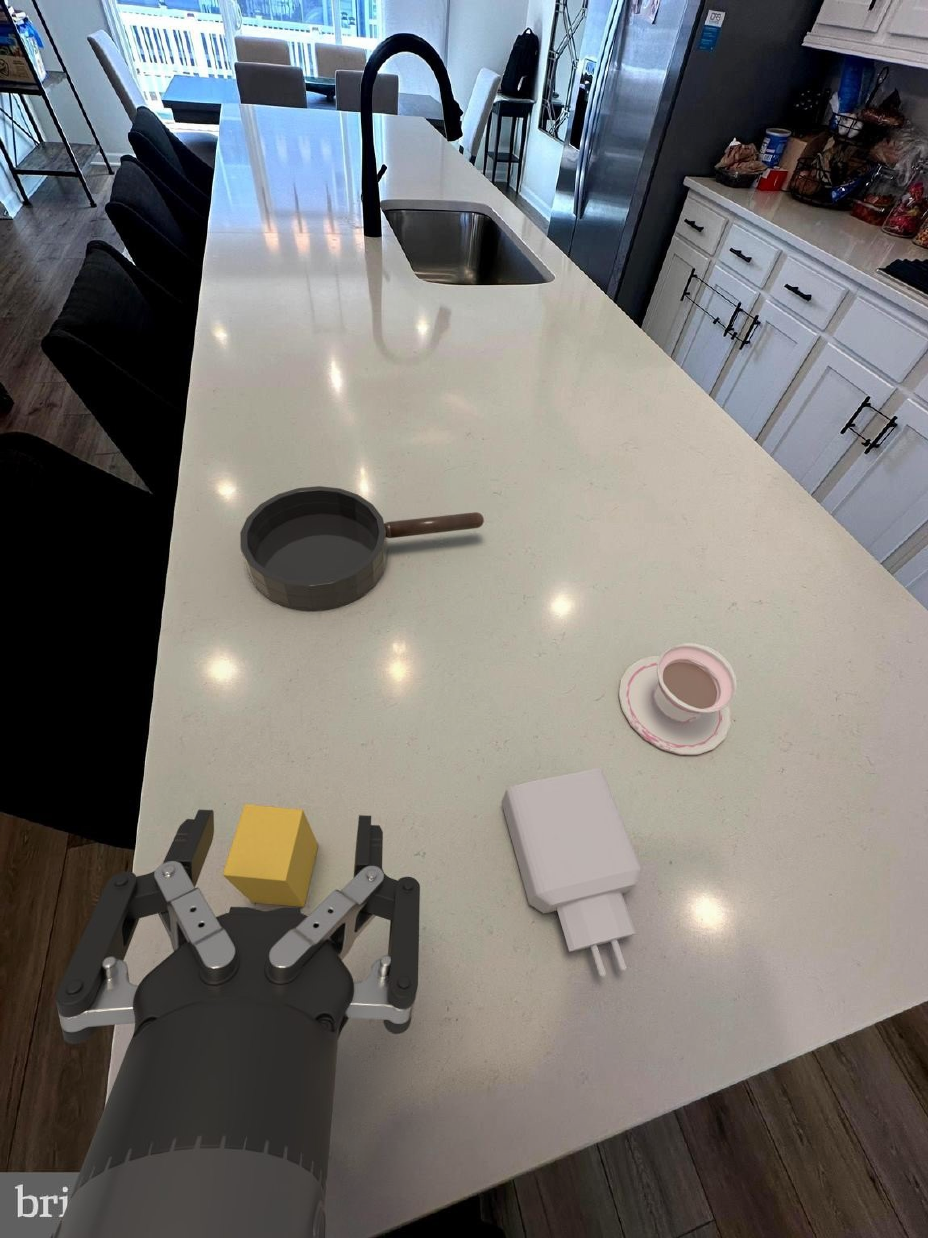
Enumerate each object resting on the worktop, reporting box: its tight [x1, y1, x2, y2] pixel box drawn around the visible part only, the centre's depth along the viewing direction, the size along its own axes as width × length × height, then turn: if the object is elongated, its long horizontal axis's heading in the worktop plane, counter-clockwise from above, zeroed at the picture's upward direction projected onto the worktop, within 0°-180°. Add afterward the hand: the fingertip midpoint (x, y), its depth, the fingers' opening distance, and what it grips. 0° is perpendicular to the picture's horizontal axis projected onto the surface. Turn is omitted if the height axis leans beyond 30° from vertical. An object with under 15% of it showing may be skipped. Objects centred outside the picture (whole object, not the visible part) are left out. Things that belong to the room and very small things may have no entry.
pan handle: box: [384, 511, 485, 539], centre depth 70 cm, size 13×2×2 cm, turn 104°
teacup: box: [618, 642, 738, 756], centre depth 58 cm, size 12×12×6 cm
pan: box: [239, 485, 388, 612], centre depth 67 cm, size 17×17×4 cm
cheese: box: [222, 803, 319, 908], centre depth 44 cm, size 5×4×9 cm
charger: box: [501, 768, 642, 978], centre depth 47 cm, size 5×9×15 cm
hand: (287, 823), depth 31 cm, fingers open, 8 cm apart
